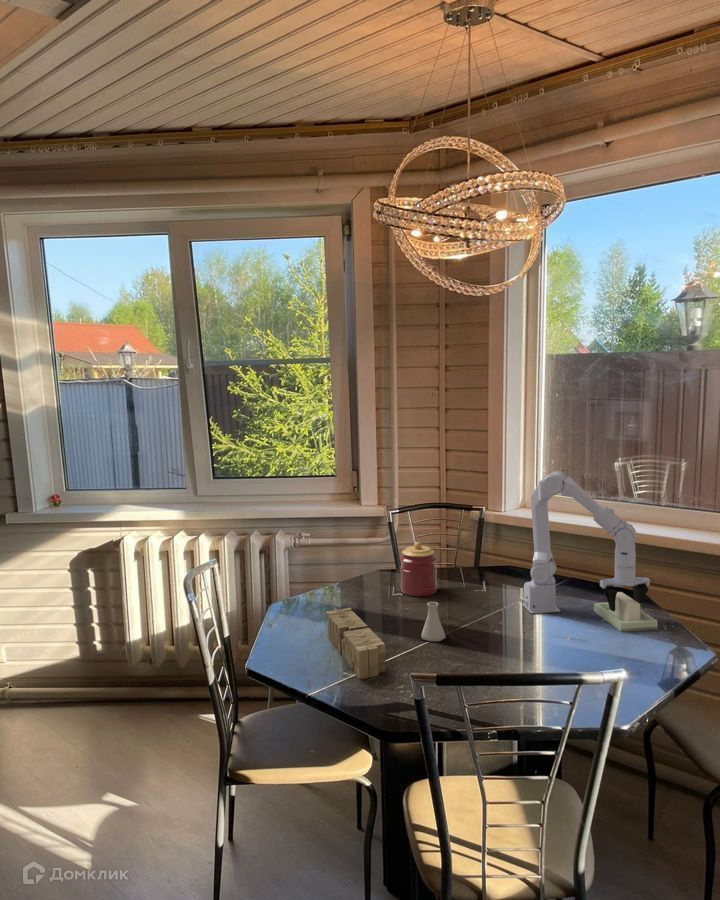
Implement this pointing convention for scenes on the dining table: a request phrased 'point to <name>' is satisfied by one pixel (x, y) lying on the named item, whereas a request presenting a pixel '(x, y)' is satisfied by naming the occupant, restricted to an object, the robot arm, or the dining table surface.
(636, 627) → the tray
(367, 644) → the block tower
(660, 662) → the dining table surface
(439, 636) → the flask
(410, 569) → the canister
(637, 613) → the beige rectangular block
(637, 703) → the dining table surface
